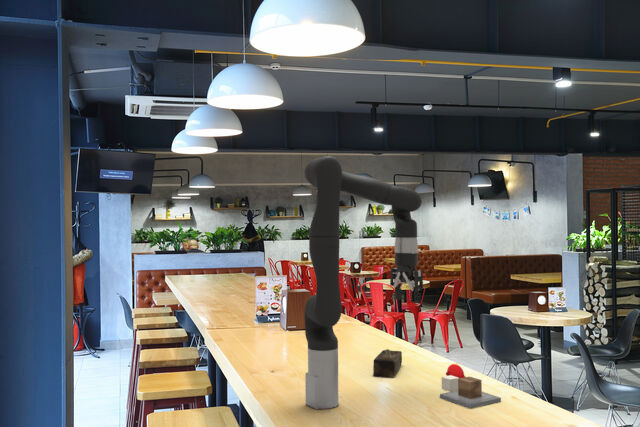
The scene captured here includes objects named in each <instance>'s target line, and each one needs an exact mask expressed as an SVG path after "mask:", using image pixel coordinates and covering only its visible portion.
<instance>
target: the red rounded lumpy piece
mask: <svg viewBox="0 0 640 427" xmlns="http://www.w3.org/2000/svg"><path fill="white" fill-rule="evenodd" d="M450 375H452V376H455V377H458V378H464V377H466V375H465V372H464V369H463V368H462V367H461V366H460V365H458V364H457V363H452V364H450V365H449V366H448V367H447V368H446V373H445V376H450Z"/></svg>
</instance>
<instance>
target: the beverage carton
mask: <svg viewBox="0 0 640 427" xmlns="http://www.w3.org/2000/svg"><path fill="white" fill-rule="evenodd" d="M402 354H403V352H402V351H401V350H390V349H388V348H387V349H384V350H382V351H381V352H379V354H377V355H376V357H375V358H374V359H373V370H372V371H373V372H372V373H373V374H372V375H373V377H378V378H379V377H380V378H391V379H393V378H395V376H396V375H397V374H398V371H399V370H400V369H401V366H402V363H403V362H402V361H403V356H402Z"/></svg>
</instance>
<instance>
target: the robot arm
mask: <svg viewBox="0 0 640 427" xmlns="http://www.w3.org/2000/svg"><path fill="white" fill-rule="evenodd" d="M304 175H305V176H304V177H305V179H306V181H307V182H308V183H309V184H310V185H311V186H312V187H315V188H316V206H315V210H314V212H313V216H312V220H311V223H310V226H309V235H308V237H309V238H308V239H309V240H308V242H309V245H308V248H309V249H308V250H309V257H310V261H311V264H312V268H313V270H314V275H315V282H316V291H315V292H316V293H315V294H313V295H311V296H310V297H309V298H308V299H307V301H306V303H305V305H304V333H305V340H306V342H307V372H305V374H304V375H305V376H304V377H305V378H304V380H305V405H307V406H309V407H311V409H312V408H313V409H314V410H318V409H331V408H332V409H333V408H335V407H337V406H339V405H340V404H339V402H340V401H339V399H340V398H339V340H338V337H337V335H336V334H335V332H334V328H333V327H334V326H336V325H337V324H338V323H339V321H340V319H341V317H342V311H343V308H342V300H341V288H340V240H341V239H340V236H341V235H340V200H341V192H344V193H348V194H350V195H354V196H357V197H360V198H363V199H366V200H368V201H371V202H374V203H377V204H379V205H384V206H391V210H392V212H391V213H392V215H393V216H392V217H393V220H394V224H395V237H394V238H395V240H394V266H395V267H391V268H390V279H389V281H390V283H389V285H390V287H391V286H392V287H393V288H394V300H396V301H399V300H402V286H403V284H407V285H408V286H409V288H410V289H411V291H410V302H411V303H412V304H414V303H416V304H417V303H418V302H419V291H421V290H423V289H424V279H423V278H424V276H423V275H424V274H423V272H424V271H423V270H421V269H420V270H417V269H416V267H418V265H419V243H418V223H417V220H415V219H413V218H412V215H411V212H412V213H413V212H416V211H418V210H419V208H420V207H421V206H422V198H421V195H420V194H419V193H418V192H417V191H416V190H414V189H410V188H408V187H402V186H399V185H393V184H390V183H388V182H385V181H383V180H380V179H376V178H374V177H369V176H364V175H358V174H355V173H351V172H350V173H349V172H346V171H343V168H342V165H341V164H340V162H339V160H338V159H337V158H336V157H334V156H331V155H327V156H326V155H325V156H321V157H318V158H314V159H312V160H310V161H309V162H308V163H307V164H306V165H305V169H304Z"/></svg>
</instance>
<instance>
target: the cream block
mask: <svg viewBox="0 0 640 427" xmlns="http://www.w3.org/2000/svg"><path fill="white" fill-rule="evenodd" d="M458 379H459V378H458V377H455V376H452V375H450V376H447V375H444V376H441V390H444V391H447V392H449V391H450V392H452V391H457V390H458Z"/></svg>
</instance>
